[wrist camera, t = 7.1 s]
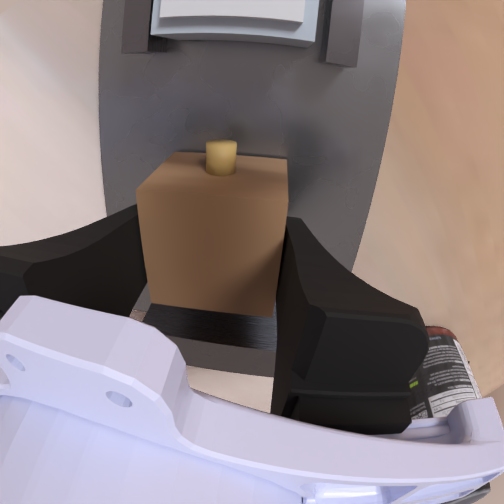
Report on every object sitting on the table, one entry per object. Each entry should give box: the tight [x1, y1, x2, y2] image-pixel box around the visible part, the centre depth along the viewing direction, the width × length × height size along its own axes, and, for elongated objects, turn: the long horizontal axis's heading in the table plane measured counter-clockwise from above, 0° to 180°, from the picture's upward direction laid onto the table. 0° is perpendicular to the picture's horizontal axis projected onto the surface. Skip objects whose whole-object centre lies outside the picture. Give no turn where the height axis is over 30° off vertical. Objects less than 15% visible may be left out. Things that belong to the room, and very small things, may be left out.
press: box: [99, 0, 406, 377], centre depth 11 cm, size 12×20×4 cm, turn 175°
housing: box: [136, 139, 289, 318], centre depth 12 cm, size 4×6×4 cm
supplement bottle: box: [407, 327, 490, 504], centre depth 14 cm, size 6×6×11 cm
